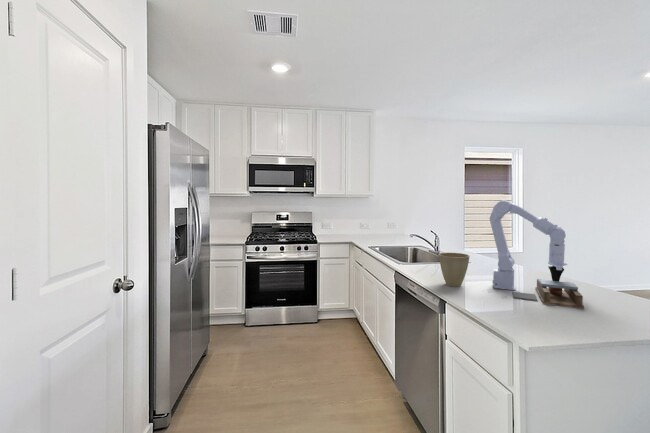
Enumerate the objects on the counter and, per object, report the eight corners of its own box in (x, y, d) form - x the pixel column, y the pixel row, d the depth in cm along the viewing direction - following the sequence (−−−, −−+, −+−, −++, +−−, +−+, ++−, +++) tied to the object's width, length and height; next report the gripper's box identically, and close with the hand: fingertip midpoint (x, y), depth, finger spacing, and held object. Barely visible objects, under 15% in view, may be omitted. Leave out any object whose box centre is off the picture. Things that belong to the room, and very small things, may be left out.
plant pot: (475, 286, 161) (475, 255, 160) (456, 290, 154) (456, 258, 153) (450, 279, 174) (451, 251, 173) (432, 283, 167) (432, 254, 166)
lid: (541, 286, 141) (541, 283, 141) (539, 281, 148) (539, 279, 148) (577, 290, 135) (577, 287, 135) (573, 285, 142) (573, 282, 142)
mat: (513, 298, 141) (513, 297, 141) (512, 292, 149) (512, 291, 149) (537, 301, 137) (537, 299, 137) (534, 295, 145) (534, 294, 145)
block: (549, 295, 145) (550, 284, 145) (548, 292, 149) (548, 282, 149) (561, 296, 143) (562, 286, 143) (559, 294, 147) (560, 283, 147)
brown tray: (542, 303, 134) (542, 291, 134) (535, 289, 155) (535, 278, 154) (583, 308, 128) (584, 296, 128) (570, 293, 148) (571, 282, 148)
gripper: (571, 257, 136) (569, 287, 137) (563, 251, 149) (562, 279, 150) (551, 255, 140) (550, 285, 141) (546, 250, 153) (545, 277, 153)
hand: (555, 282), depth 146 cm, fingers closed
